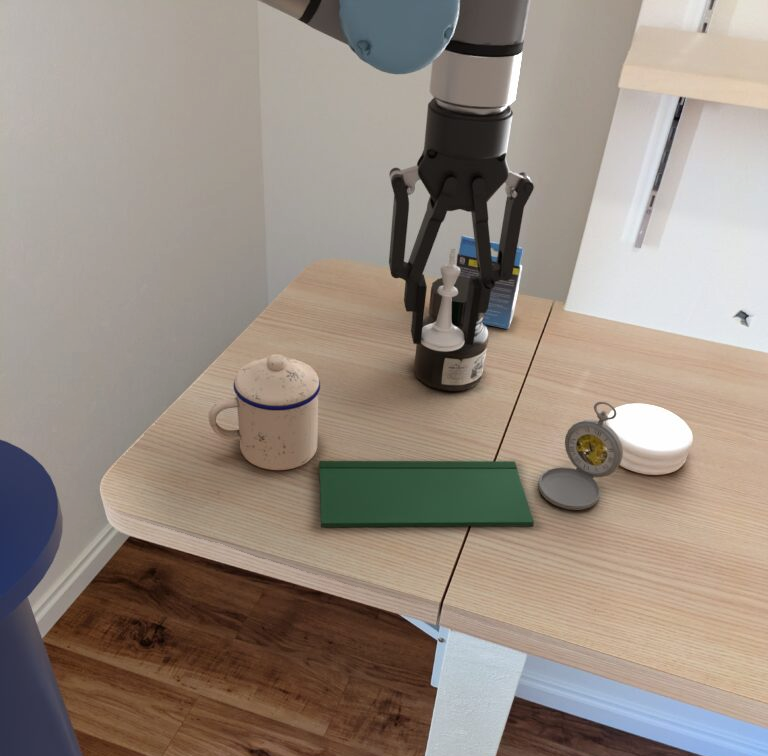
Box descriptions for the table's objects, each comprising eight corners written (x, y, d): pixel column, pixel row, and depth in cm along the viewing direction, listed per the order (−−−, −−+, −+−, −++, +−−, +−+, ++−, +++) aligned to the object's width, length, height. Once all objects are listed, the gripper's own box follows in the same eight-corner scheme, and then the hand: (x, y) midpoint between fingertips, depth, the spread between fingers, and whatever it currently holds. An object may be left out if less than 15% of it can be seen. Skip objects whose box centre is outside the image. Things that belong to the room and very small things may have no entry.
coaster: (583, 431, 96) (590, 407, 94) (653, 420, 99) (662, 396, 97) (628, 483, 89) (637, 458, 87) (702, 469, 92) (712, 445, 90)
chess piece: (418, 349, 83) (428, 258, 77) (418, 326, 87) (428, 237, 80) (465, 353, 84) (479, 262, 77) (463, 330, 87) (476, 241, 81)
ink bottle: (455, 403, 99) (468, 315, 91) (398, 376, 103) (406, 290, 95) (495, 372, 105) (511, 287, 97) (440, 348, 109) (451, 264, 101)
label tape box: (513, 318, 116) (529, 236, 108) (508, 331, 113) (524, 248, 105) (455, 306, 118) (466, 225, 110) (448, 319, 115) (459, 236, 107)
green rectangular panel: (320, 527, 81) (320, 522, 80) (319, 465, 88) (319, 460, 88) (533, 526, 83) (534, 521, 82) (514, 466, 90) (515, 461, 90)
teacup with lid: (307, 419, 94) (307, 331, 86) (329, 465, 88) (331, 375, 80) (205, 434, 91) (195, 344, 83) (221, 484, 85) (212, 391, 77)
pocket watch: (537, 508, 85) (557, 432, 78) (537, 460, 91) (555, 386, 85) (614, 519, 84) (641, 443, 78) (609, 470, 91) (633, 396, 84)
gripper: (560, 94, 73) (516, 322, 89) (366, 84, 72) (356, 319, 87) (581, 119, 68) (531, 357, 83) (372, 109, 66) (360, 355, 82)
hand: (441, 337), depth 85 cm, fingers closed on chess piece, 5 cm apart
